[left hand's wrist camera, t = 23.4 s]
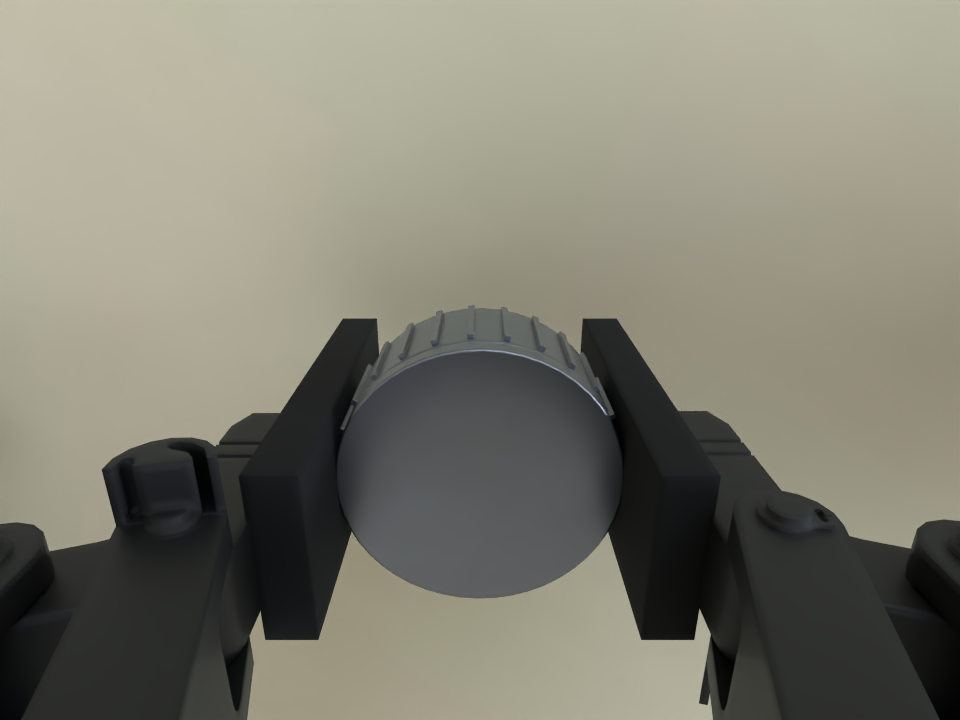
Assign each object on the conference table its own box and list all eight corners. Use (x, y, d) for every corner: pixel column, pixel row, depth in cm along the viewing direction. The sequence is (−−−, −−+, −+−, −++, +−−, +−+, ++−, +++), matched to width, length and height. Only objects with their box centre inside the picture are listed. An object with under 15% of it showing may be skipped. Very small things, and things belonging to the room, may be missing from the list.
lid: (518, 562, 13) (525, 641, 11) (312, 460, 12) (280, 526, 10) (655, 384, 12) (691, 441, 10) (432, 253, 11) (421, 285, 9)
